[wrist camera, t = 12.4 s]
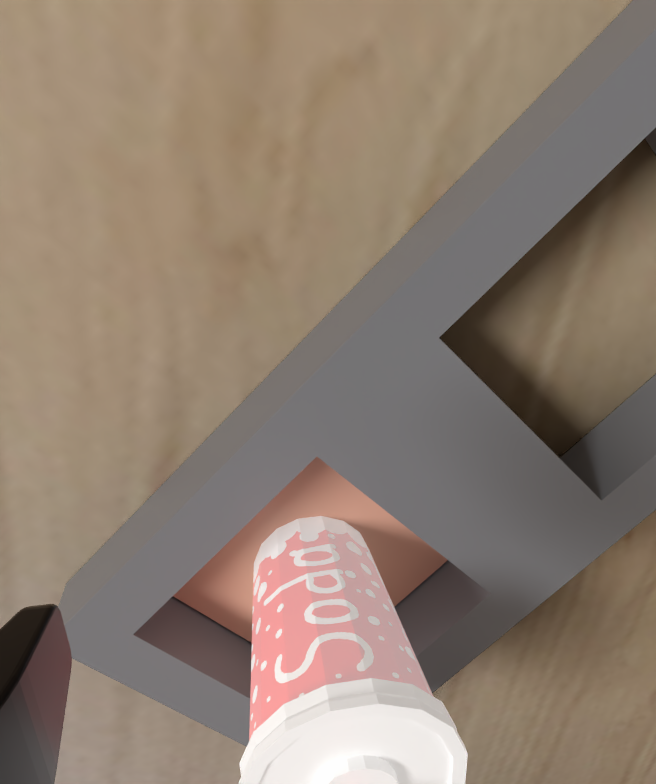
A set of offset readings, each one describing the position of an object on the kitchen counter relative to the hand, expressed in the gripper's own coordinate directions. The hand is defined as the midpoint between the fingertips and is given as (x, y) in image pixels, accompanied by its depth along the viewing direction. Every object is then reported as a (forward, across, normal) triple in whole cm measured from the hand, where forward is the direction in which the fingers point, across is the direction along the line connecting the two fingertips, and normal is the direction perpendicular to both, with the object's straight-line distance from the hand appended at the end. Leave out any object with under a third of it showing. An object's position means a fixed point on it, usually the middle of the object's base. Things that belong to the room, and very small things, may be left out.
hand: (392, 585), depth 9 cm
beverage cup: (+13, 0, +10) cm, 16 cm away
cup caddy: (+13, -5, +5) cm, 15 cm away
